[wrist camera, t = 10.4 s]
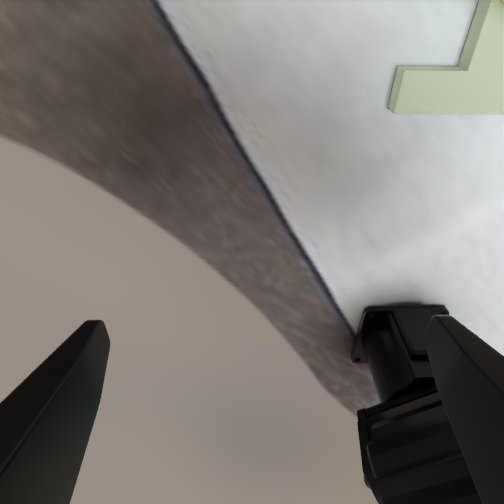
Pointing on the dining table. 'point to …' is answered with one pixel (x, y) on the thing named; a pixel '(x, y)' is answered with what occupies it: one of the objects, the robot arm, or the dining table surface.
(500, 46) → the notched board
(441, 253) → the dining table surface
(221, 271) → the dining table surface
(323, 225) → the dining table surface
